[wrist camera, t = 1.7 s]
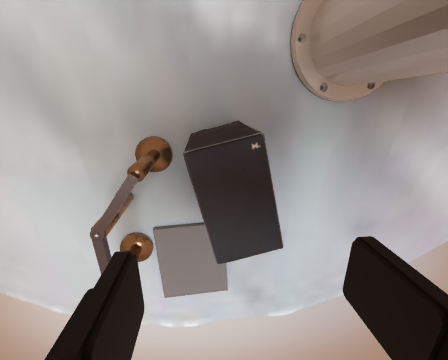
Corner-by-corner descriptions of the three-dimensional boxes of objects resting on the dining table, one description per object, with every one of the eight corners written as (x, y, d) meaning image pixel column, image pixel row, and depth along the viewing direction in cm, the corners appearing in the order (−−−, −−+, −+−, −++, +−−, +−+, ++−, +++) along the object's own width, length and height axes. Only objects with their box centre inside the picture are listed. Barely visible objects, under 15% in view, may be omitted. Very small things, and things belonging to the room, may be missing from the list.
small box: (186, 133, 26) (177, 150, 16) (240, 119, 26) (266, 127, 16) (209, 213, 29) (214, 268, 19) (257, 200, 29) (287, 249, 19)
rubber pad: (223, 220, 29) (223, 223, 29) (227, 286, 33) (227, 290, 32) (153, 227, 29) (152, 229, 28) (165, 294, 32) (164, 297, 32)
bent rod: (175, 141, 26) (163, 158, 17) (150, 260, 30) (131, 320, 22) (131, 130, 25) (96, 142, 16) (112, 255, 29) (77, 314, 21)
